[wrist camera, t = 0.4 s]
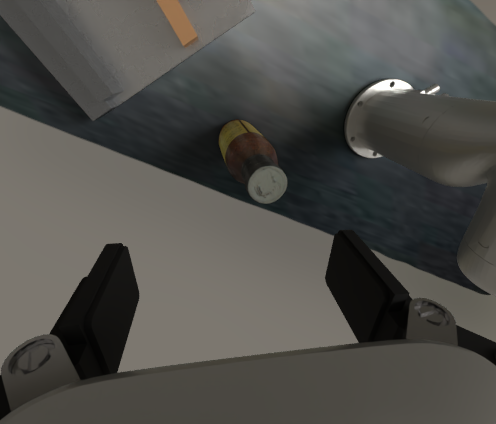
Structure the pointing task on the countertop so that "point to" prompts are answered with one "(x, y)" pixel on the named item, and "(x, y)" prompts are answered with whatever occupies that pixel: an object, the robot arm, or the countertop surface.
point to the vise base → (114, 42)
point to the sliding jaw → (178, 21)
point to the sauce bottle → (252, 161)
